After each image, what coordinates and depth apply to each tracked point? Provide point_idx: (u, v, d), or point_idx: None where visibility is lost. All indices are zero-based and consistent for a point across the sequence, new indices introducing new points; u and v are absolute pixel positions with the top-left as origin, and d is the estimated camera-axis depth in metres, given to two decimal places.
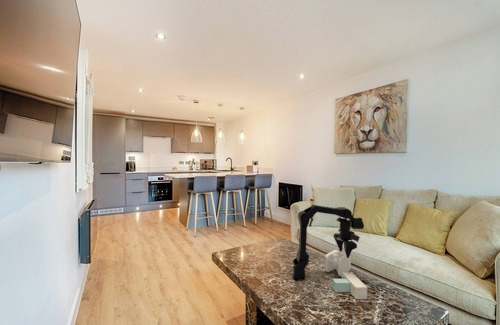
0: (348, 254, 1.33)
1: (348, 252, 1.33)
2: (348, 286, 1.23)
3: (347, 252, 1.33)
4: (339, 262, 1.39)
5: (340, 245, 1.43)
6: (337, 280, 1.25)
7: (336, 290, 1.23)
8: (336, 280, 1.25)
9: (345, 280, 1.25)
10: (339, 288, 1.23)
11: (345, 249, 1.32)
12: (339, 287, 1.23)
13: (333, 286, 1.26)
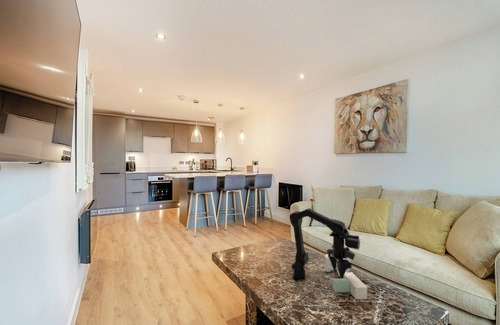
0: (342, 274, 1.20)
1: (342, 272, 1.19)
2: (348, 286, 1.23)
3: (341, 272, 1.19)
4: None
5: (334, 263, 1.30)
6: (337, 280, 1.25)
7: (336, 290, 1.23)
8: (336, 280, 1.25)
9: (345, 280, 1.25)
10: (339, 288, 1.23)
11: (338, 269, 1.18)
12: (339, 287, 1.23)
13: (333, 286, 1.26)
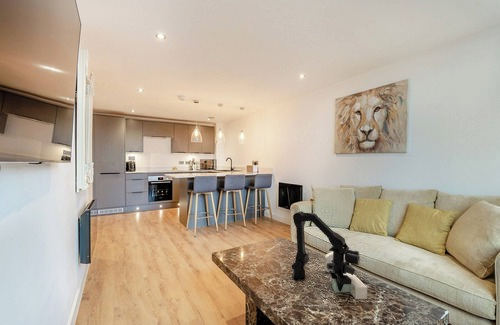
0: (340, 287, 1.22)
1: (340, 285, 1.21)
2: (348, 286, 1.23)
3: (339, 285, 1.21)
4: None
5: (335, 279, 1.28)
6: None
7: (336, 290, 1.23)
8: None
9: None
10: None
11: (337, 282, 1.20)
12: None
13: (333, 286, 1.26)
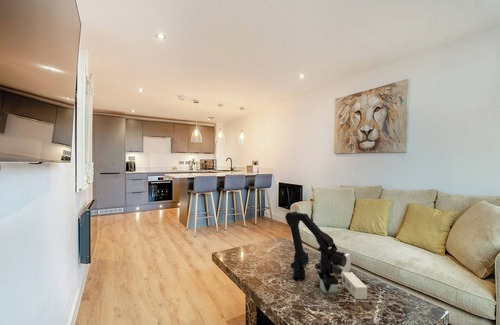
0: (327, 287, 1.22)
1: (327, 285, 1.21)
2: (335, 286, 1.23)
3: (326, 285, 1.21)
4: None
5: None
6: None
7: (323, 290, 1.23)
8: None
9: None
10: None
11: (324, 282, 1.20)
12: None
13: (321, 286, 1.25)
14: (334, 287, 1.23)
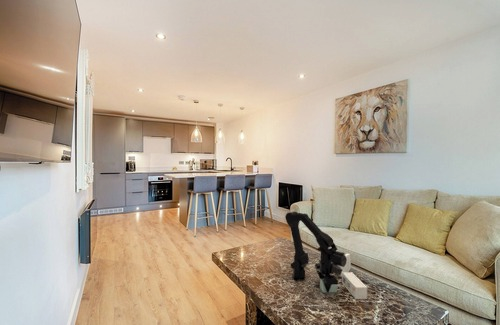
0: (328, 288, 1.21)
1: (328, 286, 1.21)
2: (335, 286, 1.23)
3: (326, 286, 1.20)
4: None
5: (322, 278, 1.28)
6: None
7: (323, 290, 1.23)
8: None
9: None
10: None
11: (324, 283, 1.20)
12: None
13: (321, 286, 1.25)
14: (334, 287, 1.23)
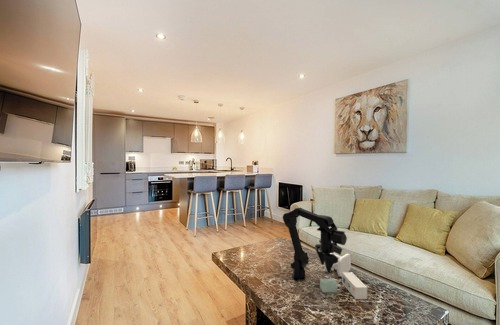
0: (329, 269, 1.20)
1: (329, 266, 1.19)
2: (335, 286, 1.23)
3: (328, 266, 1.19)
4: (339, 262, 1.39)
5: (322, 258, 1.30)
6: (324, 280, 1.25)
7: (323, 290, 1.23)
8: (323, 281, 1.25)
9: (332, 280, 1.25)
10: (326, 289, 1.23)
11: (325, 263, 1.18)
12: (326, 288, 1.23)
13: (321, 286, 1.25)
14: (334, 287, 1.23)
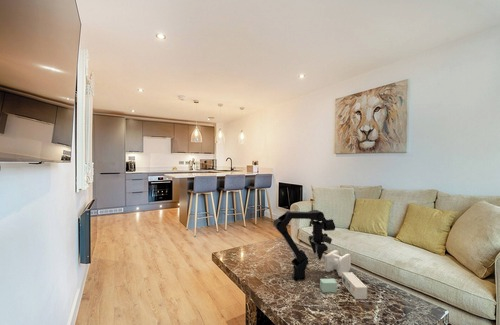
0: (320, 256, 1.35)
1: (320, 254, 1.35)
2: (335, 286, 1.23)
3: (319, 254, 1.35)
4: (339, 262, 1.39)
5: (314, 247, 1.46)
6: (324, 280, 1.25)
7: (323, 290, 1.23)
8: (323, 281, 1.25)
9: (332, 280, 1.25)
10: (326, 289, 1.23)
11: (316, 251, 1.34)
12: (326, 288, 1.23)
13: (321, 286, 1.25)
14: (334, 287, 1.23)
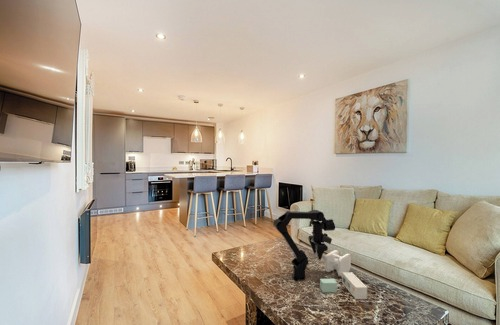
0: (320, 256, 1.35)
1: (320, 254, 1.35)
2: (335, 286, 1.23)
3: (319, 254, 1.35)
4: (339, 262, 1.39)
5: (314, 247, 1.46)
6: (324, 280, 1.25)
7: (323, 290, 1.23)
8: (323, 281, 1.25)
9: (332, 280, 1.25)
10: (326, 289, 1.23)
11: (316, 251, 1.34)
12: (326, 288, 1.23)
13: (321, 286, 1.25)
14: (334, 287, 1.23)
